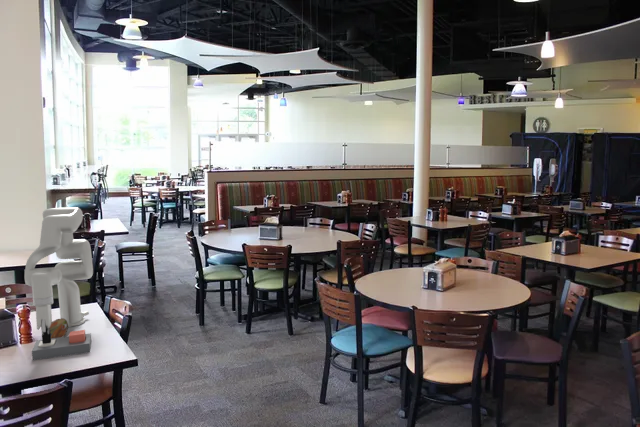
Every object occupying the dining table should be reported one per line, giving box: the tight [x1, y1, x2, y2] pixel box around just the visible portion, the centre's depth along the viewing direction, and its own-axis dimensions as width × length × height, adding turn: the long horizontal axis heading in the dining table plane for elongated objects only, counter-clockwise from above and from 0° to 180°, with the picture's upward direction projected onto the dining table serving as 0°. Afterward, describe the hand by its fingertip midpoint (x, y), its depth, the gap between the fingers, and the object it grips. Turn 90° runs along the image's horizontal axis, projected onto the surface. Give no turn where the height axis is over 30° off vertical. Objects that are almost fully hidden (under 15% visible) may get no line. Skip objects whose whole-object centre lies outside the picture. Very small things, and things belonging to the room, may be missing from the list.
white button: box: [38, 339, 56, 347], centre depth 234 cm, size 6×6×4 cm
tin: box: [50, 318, 69, 338], centre depth 252 cm, size 15×3×8 cm, turn 168°
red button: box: [68, 329, 86, 343], centre depth 237 cm, size 6×6×4 cm
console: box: [31, 333, 93, 361], centre depth 236 cm, size 22×14×4 cm, turn 110°
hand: (46, 342), depth 233 cm, fingers closed
